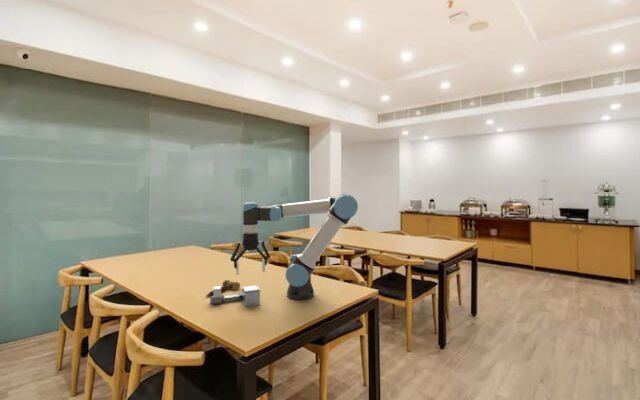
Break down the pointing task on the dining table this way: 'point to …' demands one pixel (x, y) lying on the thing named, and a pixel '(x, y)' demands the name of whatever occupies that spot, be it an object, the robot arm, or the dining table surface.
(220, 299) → the ratchet
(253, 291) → the brushed metal cube
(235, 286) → the gavel
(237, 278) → the dining table surface
